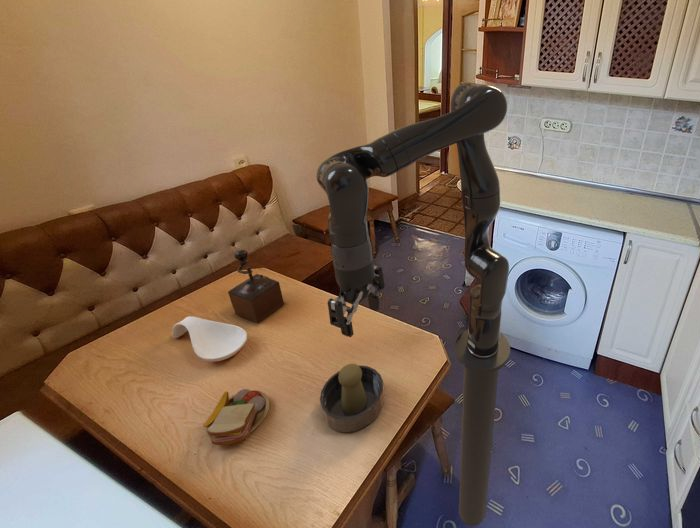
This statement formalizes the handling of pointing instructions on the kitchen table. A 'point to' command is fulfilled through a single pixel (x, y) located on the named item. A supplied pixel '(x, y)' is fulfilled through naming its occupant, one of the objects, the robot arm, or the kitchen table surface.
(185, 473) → the kitchen table surface
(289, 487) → the kitchen table surface
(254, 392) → the toy sandwich meal
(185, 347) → the kitchen table surface
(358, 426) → the dark grey bowl
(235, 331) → the spoon rest
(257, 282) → the dark brown coffee grinder
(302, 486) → the kitchen table surface
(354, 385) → the cork
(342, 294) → the robot arm
